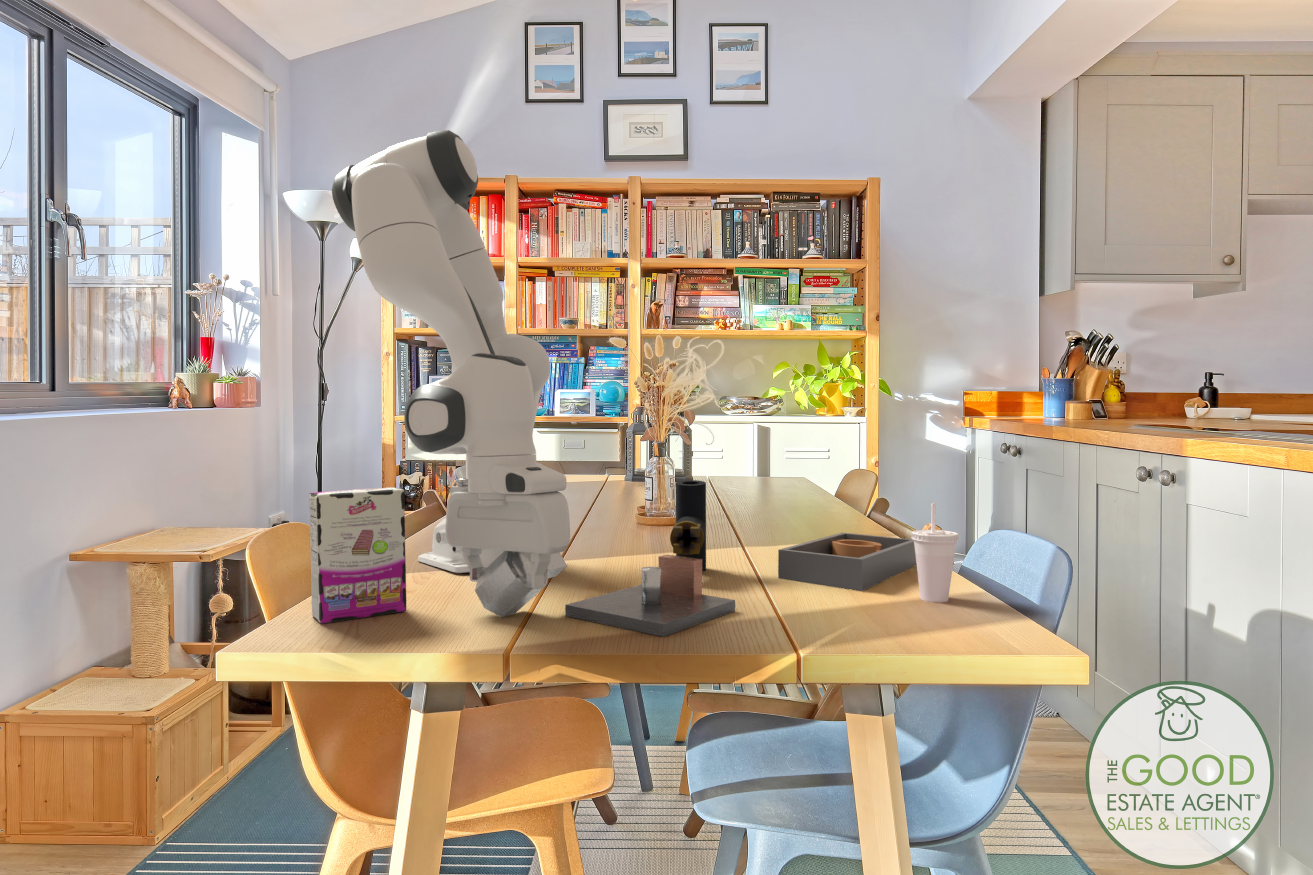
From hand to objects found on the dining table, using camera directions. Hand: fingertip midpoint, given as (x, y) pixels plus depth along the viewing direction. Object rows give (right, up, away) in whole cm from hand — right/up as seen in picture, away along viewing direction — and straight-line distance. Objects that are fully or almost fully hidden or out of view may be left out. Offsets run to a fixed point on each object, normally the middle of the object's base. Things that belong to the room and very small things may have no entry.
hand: (506, 584), depth 104 cm
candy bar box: (-20, -4, +2) cm, 20 cm away
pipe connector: (+25, -4, +27) cm, 37 cm away
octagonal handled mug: (-1, -2, +4) cm, 4 cm away
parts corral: (+52, -4, +29) cm, 59 cm away
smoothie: (+59, -4, +11) cm, 60 cm away
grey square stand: (+19, -4, +2) cm, 19 cm away
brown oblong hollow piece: (+50, -6, +38) cm, 63 cm away
